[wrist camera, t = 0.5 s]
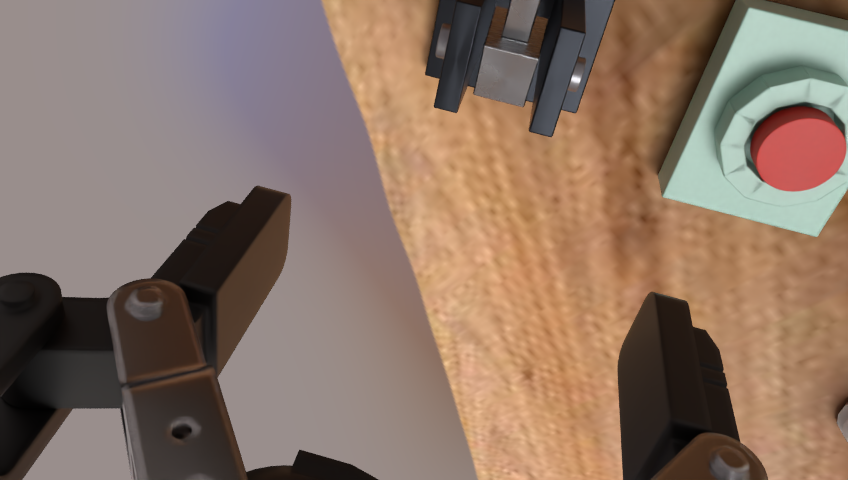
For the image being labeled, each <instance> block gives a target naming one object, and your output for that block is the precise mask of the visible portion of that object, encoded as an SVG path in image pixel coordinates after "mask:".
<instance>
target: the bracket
mask: <svg viewBox="0 0 848 480" xmlns="http://www.w3.org/2000/svg"><path fill="white" fill-rule="evenodd" d="M509 2H510V0H440V1H439V6H438V11H437V16H436V21H435V26H434V31H433V36H432V41H431V46H430V51H429V57H428V62H427V67H426V72H425V75H427V76H431V77H435V78H439V84H438V89H437V93H436V98H435V103H434V107H435V108H439V109H443V110H446V111H450V112H454V113H457V112H458V109H459V107H460V104H461V101H462V99H463V96H464V94H465V91H466V89H467V86H470V87H474V88H475V83H476V79H477V74H478V70H479V65H480V60H481V56H482V51H483V47H484V43H485V40H486V36H487V33H488V30H489V26H490V23H491V20H492V16H493V13H494V10H495V7H496V6H499V7H503V8H507V9H508V6H509ZM614 2H615V0H541V2H540V5H539V9H538V12H537V16H539V17H543V18H547V19H548V24H547V28H546V32H545V36H544V41H543V45H542V49H541V53H540V57H539V61H538V64H537V67H536V71H535V74H534V77H533V80H532V83H531V86H530V89H529V92H528V95H527V99H526V101H529V102H533V105H532V112H531V118H530V125H529V131H530V132H533V133H537V134H540V135H544V136H548V137H552V136H553V133H554V130H555V127H556V124H557V121H558V118H559V115H560V112H561V110H564V111H568V112H572V113H576V112H577V110H578V107H579V104H580V101H581V98H582V95H583V92H584V89H585V86H586V83H587V81H588V78H589V75H590V72H591V69H592V66H593V63H594V60H595V57H596V54H597V51H598V48H599V46H600V43H601V40H602V37H603V34H604V31H605V28H606V25H607V22H608V19H609V16H610V13H611V11H612V8H613V5H614Z"/></svg>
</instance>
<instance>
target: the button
mask: <svg viewBox="0 0 848 480" xmlns="http://www.w3.org/2000/svg"><path fill="white" fill-rule="evenodd" d="M846 148H847V146H846V140H845V137H844V135H843V133H842V132H841V131H840V129H839V128H838V127H837V125H836V124H835V123H834V121H833V120H832V119H831V118H830V117H829V116H828V115H827V114H826V113H824V112H823V111H821V110H819V109H816V108H813V107H806V106H797V107H790V108H786V109H783V110H781V111H778V112H776V113H774V114H773V115H771V116H769V117H768V118H767V119H766V120H764V121H763V122H762V123H761V124H760V126H759V127H758V128H757V130H756V131H755V133H754V135H753V137H752V140H751V145H750V153H751V157H752V160H753V162H754V165H755V167H756V169H757V171H758V173H759V175H760V176H761V178H762V179H763V180H764V181H765V182H766V183H767V184H769V185H770V186H772V187H774V188H776V189H779V190H783V191H790V192H796V191H804V190H808V189H812V188H815V187H817V186H819V185H821V184H823V183H824V182H826V181H827V180H829V179H830V178H831V177H832V176H833V175H834V174H835V173H836V172H837V171H838V170H839V168H840V167H841V165H842V163H843V161H844V159H845V155H846Z"/></svg>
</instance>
